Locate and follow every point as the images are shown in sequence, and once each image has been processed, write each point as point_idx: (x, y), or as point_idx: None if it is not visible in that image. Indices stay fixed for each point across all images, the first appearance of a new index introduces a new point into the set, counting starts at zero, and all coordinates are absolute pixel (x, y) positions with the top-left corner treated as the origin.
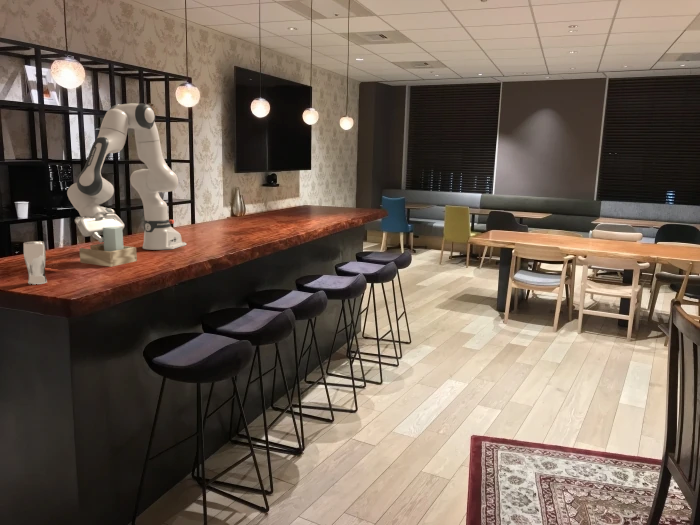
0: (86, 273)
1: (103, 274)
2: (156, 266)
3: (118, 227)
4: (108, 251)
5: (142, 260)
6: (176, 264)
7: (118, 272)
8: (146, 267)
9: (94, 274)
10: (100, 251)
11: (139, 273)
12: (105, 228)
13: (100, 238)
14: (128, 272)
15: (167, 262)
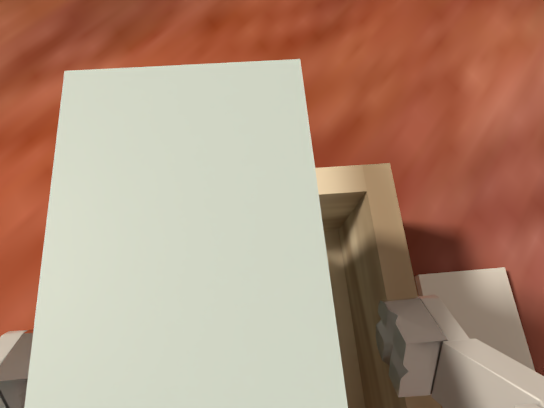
0: (527, 230)
1: (465, 128)
2: (139, 62)
3: (72, 171)
4: (373, 211)
5: (9, 284)
6: (38, 18)
7: (379, 105)
8: None
9: (503, 168)
10: (415, 295)
11: (323, 9)
12: (344, 399)
13: (454, 321)
14: (343, 65)
15: (5, 94)
